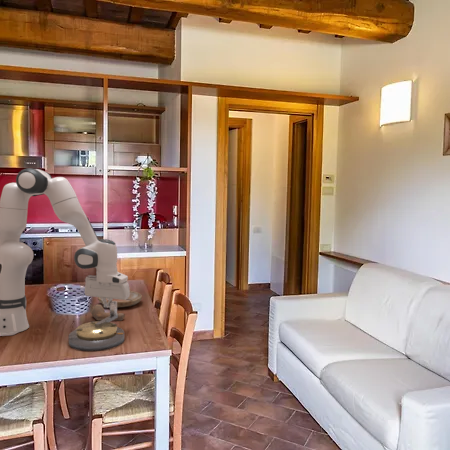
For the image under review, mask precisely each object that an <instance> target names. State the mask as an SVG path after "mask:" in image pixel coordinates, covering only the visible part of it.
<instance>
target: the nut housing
mask: <svg viewBox="0 0 450 450" xmlns="http://www.w3.org/2000/svg"><path fill="white" fill-rule="evenodd" d="M124 342H125V331H124V329H123V328H122V327H118V326H117V334H116V335H115V336H114V337H111V338H109V339H105V340H98V341H88V340H82V339H79V338H78V337H77V336H76V329H74V330H72V331H71V332H70V333H69V334H68V346H70V348H71V349H73V350H77V351H83V352H100V351H106V350H110V349H113V348H116V347H118V346H120V345H122V344H123V343H124Z"/></svg>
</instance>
